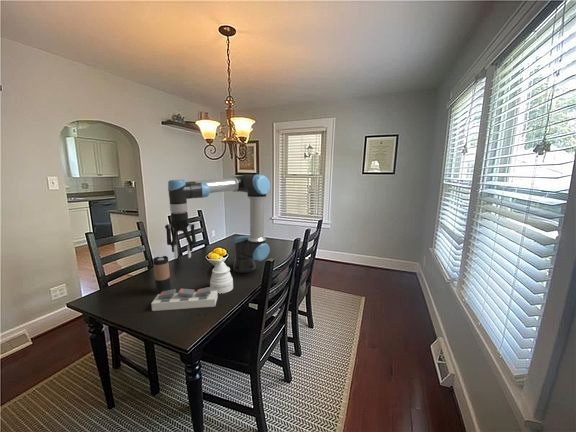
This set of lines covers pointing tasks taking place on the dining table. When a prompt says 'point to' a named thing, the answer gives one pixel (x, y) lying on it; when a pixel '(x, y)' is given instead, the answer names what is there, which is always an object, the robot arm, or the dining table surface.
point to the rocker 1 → (167, 294)
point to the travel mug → (161, 274)
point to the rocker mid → (186, 292)
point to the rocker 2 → (203, 291)
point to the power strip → (184, 302)
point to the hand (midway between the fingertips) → (183, 257)
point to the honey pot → (221, 278)
